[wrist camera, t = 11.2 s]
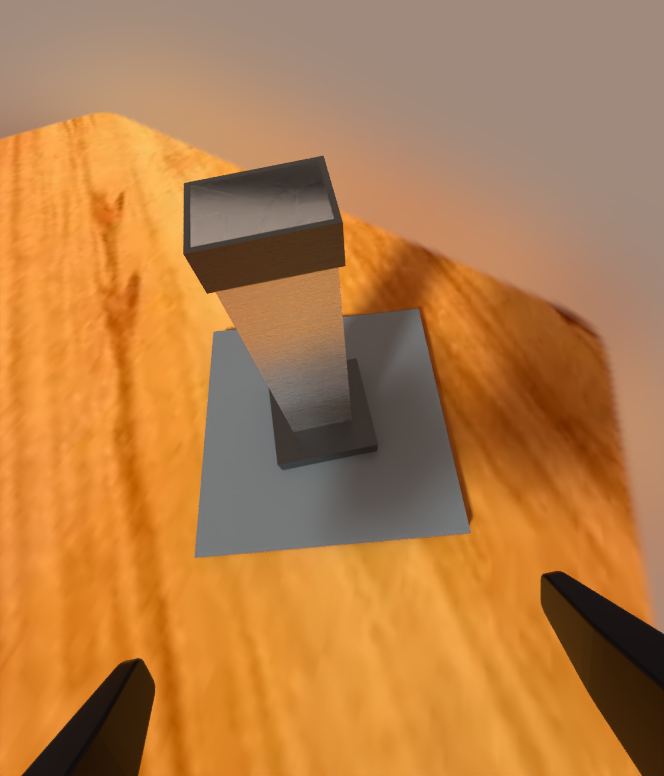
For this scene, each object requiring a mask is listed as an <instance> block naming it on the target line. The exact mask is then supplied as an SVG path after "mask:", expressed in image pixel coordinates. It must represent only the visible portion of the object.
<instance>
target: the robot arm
mask: <svg viewBox="0 0 664 776" xmlns="http://www.w3.org/2000/svg"><path fill="white" fill-rule="evenodd" d="M541 605H542V608H543V610H544V613H545V615H546V616H547V618H548V620H549V622H550V624H551V626H552V628H553V629H554V631H555V633H556V635H557V637H558V639H559V640H560V642H561V644H562V646H563V648H564V650H565V651H566V653H567V655H568V657H569V659H570V661H571V663H572V664H573V666H574V668H575V670H576V672H577V674H578V675H579V677H580V679H581V681H582V683H583V684H584V686H585V688H586V690H587V691H588V693H589V695H590V696H591V698H592V700H593V701H594V703H595V704H596V706H597V708H598V709H599V711H600V712H601V714H602V715H603V717H604V718H605V720H606V721H607V723H608V724H609V726H610V727H611V729H612V730H613V732H614V734H615V735H616V737H617V738H618V740H619V741H620V743H621V744H622V746H623V747H624V749H625V750H626V752H627V753H628V755H629V757H630V758H631V760H632V761H633V763H634V764H635V766H636V767H637V769H638V770H639V772H640V773H641V775H642V776H664V634H663V633H662V632H660V631H658V630H657V629H655V628H653V627H652V626H650V625H648V624H647V623H645V622H644V621H642V620H640V619H639V618H637V617H635V616H634V615H632V614H631V613H629V612H627V611H626V610H624V609H622V608H621V607H619V606H618V605H616V604H614V603H613V602H611V601H609V600H608V599H606V598H605V597H603V596H601V595H600V594H598V593H596V592H595V591H593V590H591V589H590V588H588V587H587V586H585V585H583V584H582V583H580V582H578V581H577V580H575V579H574V578H572V577H570V576H569V575H567V574H565V573H564V572H561V571H554V572H549V573H545V574H543V575H542V576H541ZM154 696H155V683H154V680H153V678H152V676H151V674H150V672H149V670H148V668H147V666H146V665H145V663H144V661H143V660H142V659H140V658H137V659H132V660H127V661H124V662H122V663H120V664H119V665H118V666H117V667H116V668H115V669H114V670H113V671H112V673H111V674H110V675H109V676H108V677H107V678H106V679H105V681H104V682H103V683H102V684H101V685H100V686H99V687H98V689H97V690H96V691H95V692H94V693H93V694H92V695H91V697H90V698H89V699H88V700H87V701H86V702H85V703H84V705H83V706H82V707H81V708H80V709H79V710H78V712H77V713H76V714H75V715H74V716H73V717H72V718H71V720H70V721H69V722H68V723H67V724H66V725H65V726H64V728H63V729H62V730H61V731H60V732H59V733H58V734H57V736H56V737H55V738H54V739H53V740H52V741H51V742H50V744H49V745H48V746H47V747H46V748H45V749H44V750H43V752H42V753H41V754H40V755H39V756H38V757H37V758H36V760H35V761H34V762H33V763H32V764H31V765H30V766H29V768H28V769H27V770H26V771H25V772H24V773H23V774H22V776H138V774H139V769H140V764H141V760H142V755H143V750H144V745H145V740H146V735H147V730H148V725H149V720H150V715H151V710H152V706H153V701H154Z"/></svg>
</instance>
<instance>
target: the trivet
mask: <svg viewBox="0 0 664 776" xmlns="http://www.w3.org/2000/svg"><path fill="white" fill-rule="evenodd" d="M343 326H344V338H345V349H346V360H349V359H354V358H357V362H358V366H359V370H360V374H361V378H362V382H363V386H364V390H365V394H366V398H367V402H368V406H369V410H370V414H371V418H372V422H373V426H374V430H375V434H376V438H377V442H378V450H377V451H376V452H371V453H366V454H361V455H356V456H351V457H346V458H341V459H336V460H331V461H326V462H322V463H317V464H312V465H307V466H302V467H297V468H292V469H287V470H282V469H281V468H280V467H279V466H278V465H277V456H276V448H275V439H274V430H273V422H272V413H271V404H270V396H269V387H268V385H267V383H266V382H265V380H264V378H263V376H262V374H261V373H260V371H259V369H258V367H257V365H256V364H255V362H254V360H253V358H252V356H251V355H250V353H249V351H248V349H247V347H246V346H245V344H244V342H243V340H242V338H241V337H240V335H239V333H238V331H237V330H236V329H234V330H225V331H216V332H214V333H213V345H212V357H211V369H210V381H209V393H208V405H207V417H206V429H205V441H204V453H203V465H202V477H201V489H200V501H199V513H198V525H197V537H196V549H195V558H203V557H214V556H226V555H237V554H248V553H259V552H270V551H282V550H293V549H304V548H315V547H326V546H338V545H349V544H360V543H371V542H382V541H394V540H405V539H416V538H427V537H439V536H450V535H461V534H469V533H471V532H470V527H469V523H468V519H467V515H466V510H465V506H464V502H463V497H462V493H461V489H460V485H459V480H458V476H457V472H456V467H455V463H454V459H453V455H452V450H451V446H450V442H449V437H448V433H447V429H446V425H445V420H444V416H443V412H442V407H441V403H440V399H439V395H438V390H437V386H436V382H435V377H434V373H433V369H432V365H431V360H430V356H429V352H428V347H427V343H426V339H425V335H424V330H423V326H422V322H421V317H420V313H419V309H409V310H400V311H391V312H383V313H374V314H365V315H356V316H348V317H343Z"/></svg>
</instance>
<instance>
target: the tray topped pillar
mask: <svg viewBox="0 0 664 776" xmlns="http://www.w3.org/2000/svg"><path fill="white" fill-rule="evenodd" d="M183 254H184V256H185V257H186V259H187V261H188V262H189V264H190V266H191V267H192V269H193V271H194V273H195V274H196V276H197V278H198V279H199V281H200V283H201V284H202V286H203V288H204V289H205V291H206V293H207V294H208V293H213V292H216V294H217V295H218V297H219V299H220V301H221V303H222V304H223V306H224V308H225V310H226V312H227V313H228V315H229V317H230V319H231V321H232V322H233V324H234V326H235V328H236V330H237V331H238V333H239V335H240V337H241V338H242V340H243V342H244V344H245V346H246V347H247V349H248V351H249V353H250V355H251V356H252V358H253V360H254V362H255V364H256V365H257V367H258V369H259V371H260V373H261V374H262V376H263V378H264V380H265V382H266V383H267V385H268V387H269V396H270V404H271V413H272V422H273V430H274V439H275V448H276V456H277V465H278V466H279V467H280V468H281V469H282V470H287V469H292V468H297V467H302V466H307V465H312V464H317V463H322V462H326V461H331V460H336V459H341V458H346V457H351V456H356V455H361V454H366V453H371V452H376V451H377V450H378V442H377V438H376V434H375V430H374V426H373V422H372V418H371V414H370V410H369V406H368V402H367V398H366V394H365V390H364V386H363V382H362V378H361V374H360V370H359V366H358V362H357V358H354V359H349V360H346V349H345V338H344V326H343V315H342V303H341V292H340V280H339V269H338V267H343V266H345V251H344V236H343V222H342V218H341V215H340V211H339V208H338V204H337V201H336V197H335V194H334V190H333V187H332V184H331V180H330V177H329V173H328V170H327V166H326V163H325V159H324V156H320V157H315V158H310V159H305V160H299V161H294V162H289V163H284V164H279V165H275V166H269V167H264V168H259V169H254V170H249V171H243V172H238V173H233V174H228V175H223V176H218V177H213V178H208V179H203V180H198V181H193V182H188V183H184V245H183Z"/></svg>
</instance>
